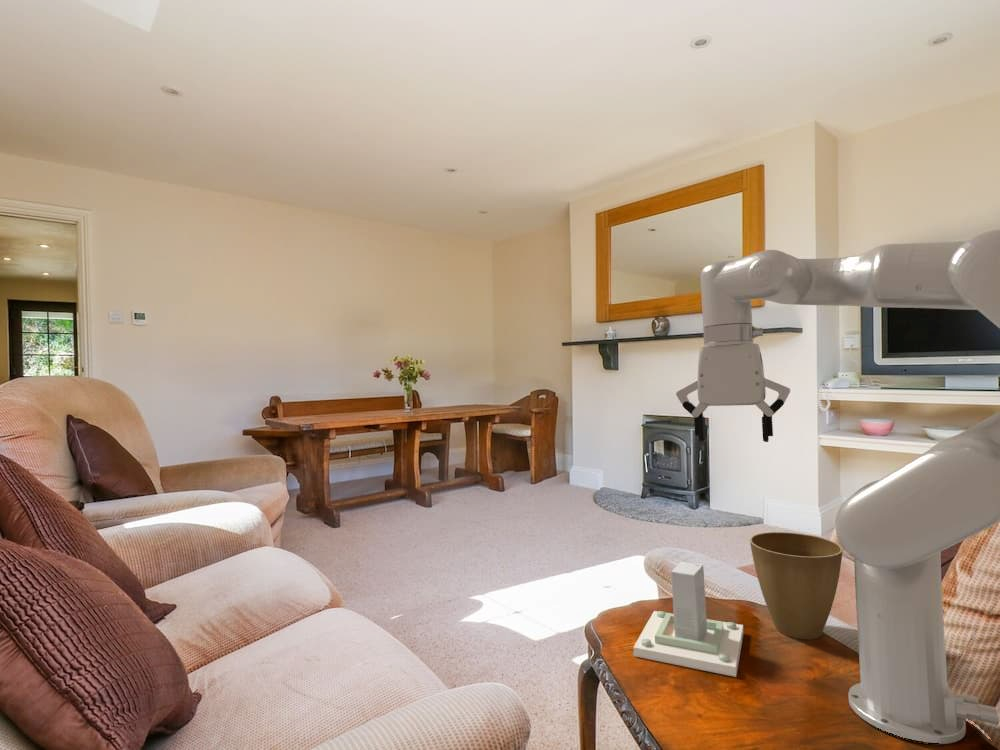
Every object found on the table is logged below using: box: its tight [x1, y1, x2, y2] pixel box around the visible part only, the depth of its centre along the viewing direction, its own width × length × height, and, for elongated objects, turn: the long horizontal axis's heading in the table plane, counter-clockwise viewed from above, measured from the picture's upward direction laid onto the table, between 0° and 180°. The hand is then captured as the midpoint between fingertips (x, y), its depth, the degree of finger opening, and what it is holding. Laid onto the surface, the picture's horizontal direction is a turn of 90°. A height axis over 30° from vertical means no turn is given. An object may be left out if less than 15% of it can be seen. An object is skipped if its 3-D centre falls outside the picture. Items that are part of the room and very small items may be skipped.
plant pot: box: [749, 531, 844, 640], centre depth 97 cm, size 15×15×16 cm
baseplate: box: [632, 610, 744, 678], centre depth 94 cm, size 16×16×3 cm
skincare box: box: [670, 561, 708, 641], centre depth 94 cm, size 6×4×12 cm
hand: (733, 440), depth 88 cm, fingers open, 9 cm apart
